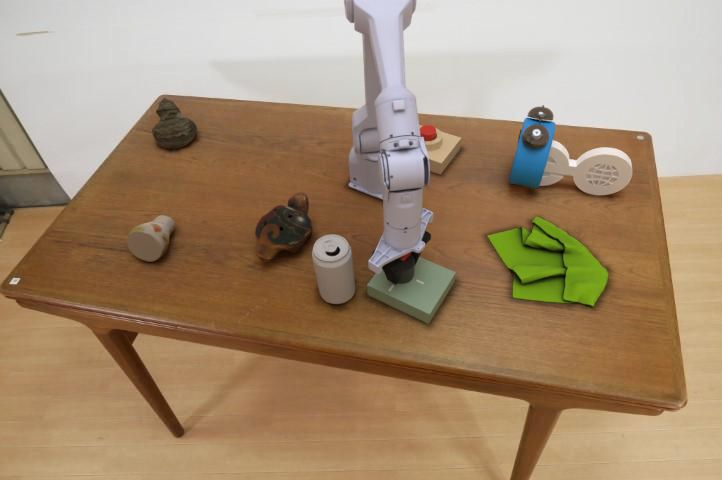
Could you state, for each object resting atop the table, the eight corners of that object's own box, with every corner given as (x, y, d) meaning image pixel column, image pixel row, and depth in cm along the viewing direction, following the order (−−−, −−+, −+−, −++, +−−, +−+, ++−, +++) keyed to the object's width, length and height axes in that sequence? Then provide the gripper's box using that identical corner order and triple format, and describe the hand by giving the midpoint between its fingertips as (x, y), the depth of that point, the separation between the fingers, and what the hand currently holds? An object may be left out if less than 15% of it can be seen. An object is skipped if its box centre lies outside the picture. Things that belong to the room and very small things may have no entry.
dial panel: (366, 294, 85) (365, 283, 82) (394, 256, 90) (394, 245, 88) (428, 324, 80) (429, 313, 78) (454, 282, 86) (456, 271, 83)
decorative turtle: (328, 221, 96) (324, 194, 90) (290, 280, 89) (283, 254, 82) (286, 207, 99) (279, 179, 92) (246, 262, 91) (235, 236, 85)
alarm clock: (534, 202, 97) (554, 140, 85) (503, 196, 99) (518, 134, 87) (542, 162, 105) (561, 101, 93) (514, 157, 106) (529, 96, 94)
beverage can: (328, 312, 83) (320, 268, 73) (314, 286, 86) (304, 241, 77) (361, 297, 84) (357, 252, 75) (346, 272, 88) (340, 226, 79)
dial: (403, 288, 82) (403, 274, 79) (383, 275, 83) (383, 261, 80) (419, 272, 83) (420, 258, 81) (399, 260, 85) (399, 245, 82)
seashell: (203, 100, 115) (165, 96, 116) (177, 99, 104) (134, 95, 105) (204, 148, 119) (167, 144, 120) (179, 152, 108) (138, 148, 109)
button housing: (392, 158, 108) (392, 139, 104) (413, 134, 113) (413, 115, 109) (440, 175, 104) (442, 156, 100) (460, 149, 109) (462, 130, 105)
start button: (416, 138, 105) (416, 131, 103) (423, 130, 107) (424, 123, 105) (431, 143, 103) (431, 136, 102) (438, 134, 105) (439, 127, 104)
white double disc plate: (620, 191, 98) (640, 151, 90) (620, 199, 97) (640, 159, 89) (511, 174, 103) (520, 135, 95) (509, 181, 102) (519, 141, 94)
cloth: (608, 318, 80) (613, 310, 78) (475, 290, 84) (477, 281, 82) (608, 231, 92) (612, 222, 90) (492, 210, 96) (494, 202, 95)
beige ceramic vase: (188, 224, 98) (172, 211, 88) (171, 270, 96) (153, 261, 86) (152, 214, 97) (132, 199, 88) (134, 259, 96) (113, 249, 86)
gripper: (393, 257, 67) (393, 311, 78) (451, 200, 74) (444, 257, 85) (355, 234, 70) (360, 289, 81) (414, 182, 77) (412, 239, 88)
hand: (401, 271), depth 83 cm, fingers closed on dial, 4 cm apart
